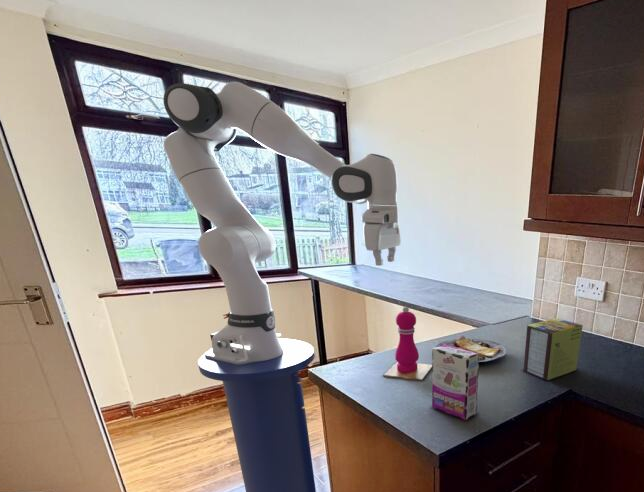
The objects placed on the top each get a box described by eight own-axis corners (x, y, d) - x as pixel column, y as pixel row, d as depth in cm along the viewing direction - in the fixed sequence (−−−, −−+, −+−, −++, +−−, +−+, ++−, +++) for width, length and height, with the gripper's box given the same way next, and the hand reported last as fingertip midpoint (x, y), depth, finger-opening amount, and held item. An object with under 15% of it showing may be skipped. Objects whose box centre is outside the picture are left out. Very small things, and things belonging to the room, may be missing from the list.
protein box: (577, 370, 134) (583, 324, 128) (547, 381, 124) (552, 332, 118) (552, 360, 141) (557, 317, 135) (522, 370, 131) (526, 324, 125)
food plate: (421, 353, 142) (421, 343, 141) (467, 339, 159) (467, 331, 157) (473, 373, 127) (473, 363, 126) (518, 356, 143) (519, 347, 142)
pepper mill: (406, 363, 131) (404, 302, 124) (423, 368, 128) (423, 306, 120) (390, 370, 125) (387, 306, 118) (408, 375, 122) (407, 310, 115)
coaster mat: (383, 376, 122) (383, 374, 122) (397, 362, 133) (397, 361, 133) (422, 380, 120) (422, 379, 120) (433, 366, 131) (433, 364, 131)
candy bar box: (477, 413, 103) (480, 353, 97) (465, 421, 99) (468, 358, 93) (443, 401, 109) (444, 343, 102) (431, 407, 105) (431, 347, 99)
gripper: (386, 214, 130) (388, 258, 136) (358, 215, 112) (361, 266, 117) (405, 215, 130) (406, 260, 135) (380, 217, 111) (382, 268, 116)
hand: (385, 263), depth 126 cm, fingers open, 8 cm apart
